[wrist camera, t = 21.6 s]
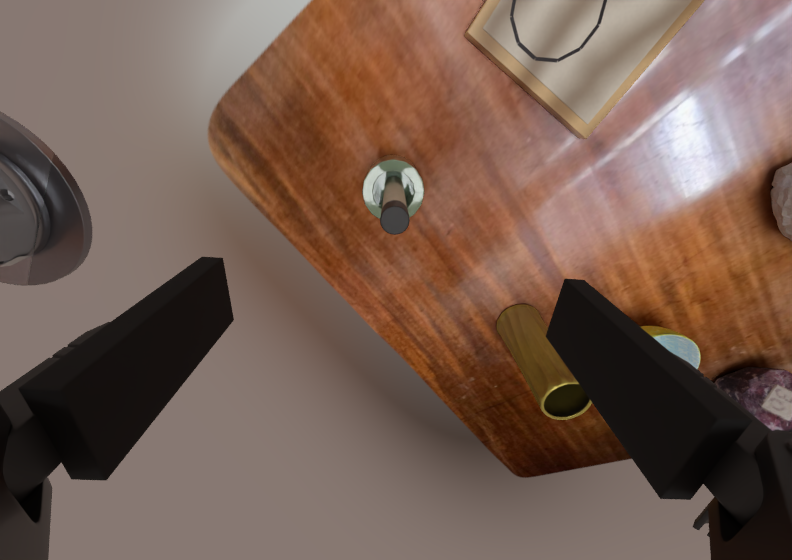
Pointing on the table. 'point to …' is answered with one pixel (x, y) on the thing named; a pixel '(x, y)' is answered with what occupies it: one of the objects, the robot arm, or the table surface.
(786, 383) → the mineral specimen
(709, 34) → the table surface
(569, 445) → the table surface
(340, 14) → the table surface
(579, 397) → the vase
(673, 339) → the bowl
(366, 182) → the pencil pot
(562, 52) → the sketch board
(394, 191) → the pen
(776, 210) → the rough grey rock
